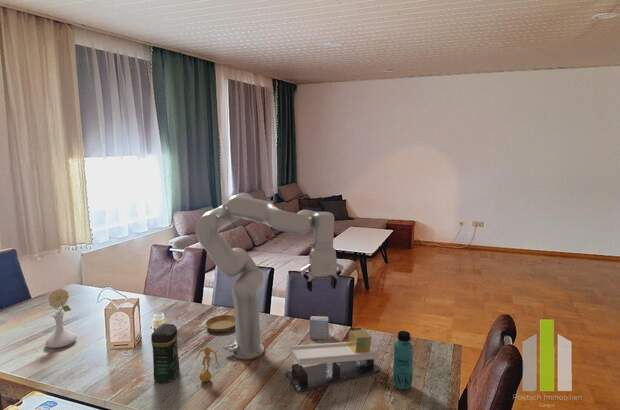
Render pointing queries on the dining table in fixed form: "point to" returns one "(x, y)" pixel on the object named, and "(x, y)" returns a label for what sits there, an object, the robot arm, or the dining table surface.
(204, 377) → the figurine
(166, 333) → the coffee jar
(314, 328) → the medicine box
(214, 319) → the plant saucer
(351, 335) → the block
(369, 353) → the beam
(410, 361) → the beverage bottle
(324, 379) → the seesaw stand
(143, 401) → the dining table surface
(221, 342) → the dining table surface
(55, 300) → the flower in vase
